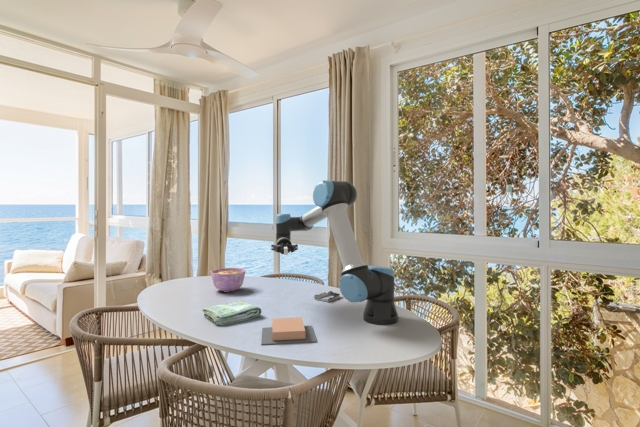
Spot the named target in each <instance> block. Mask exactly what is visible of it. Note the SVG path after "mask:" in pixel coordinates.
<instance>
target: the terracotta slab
mask: <svg viewBox="0 0 640 427" xmlns="http://www.w3.org/2000/svg"><path fill="white" fill-rule="evenodd" d="M271 319H272V320H271V322H272V324H271V325H272V336H273V340H274V341H279V340H299V339H305V327H304V326H305V325H304V320H303V317H302V316H299V317H275V318H271Z"/></svg>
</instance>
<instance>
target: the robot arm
mask: <svg viewBox="0 0 640 427" xmlns="http://www.w3.org/2000/svg"><path fill="white" fill-rule="evenodd" d="M357 198H358V192H357V189H356V187H355V186H354V185H353V184H352V183H350V182H348V181H343V180H342V181H341V180H331V179H330V180H329V179H327V180H321V181H319V182H317V184H316V185H315V186H314V190H313V192H312V201H313V203H314V204H315V205H316V206H315V207H313V208H312V209H310V210H309V211H307V212H306V213H304V214H303V215H301V216H291V214H290V213H277V214H276V218H275V230H276V231H275V232H276V233H275V238H276V239H275V244H271V246H270V251H274V252H276V253H280V254H281V255H285V256H287V255H289V253H294V252H296V251H298V250H299V245H298V244H297V243H296V244H292V242H291V234H292V233H291V232H302V231H303V232H304V231H306V232H307V231H311V230H312V229H313V228H314V225H317V223H319V222H321V221H323V220H325V219H326V218H327V219H328V223H329V226H330V229H331V232H332V235H333V239H334V242H335V246H336V249H337V251H338V255H339V259H340V262H341V266H342V270H341V272H340V274H341V277H340V279H339V284H338V286H339V288H338V289H339V291H340V294H341V296H342V297H343V298H344V299H345V300H347V301H348V302H350V303H361V302H362V303H363V302H365V301H366V304H365V307H364V311H363V314H362V316H363V317H362V318H363V320H364V321H365V322H367V323H370V324H376V325H392V324H395V323H397V322H398V321H399V314H398V311H397V307H396V304H395V270H394V269H393V268H391V267H388V266H379V265H368V264H367V263H365V262H363V259H362V255H361V252H360V249H359V246H358V243H357V240H356V237H355V234H354V230H353V228H352V224H351V221H350V219H349V215H348V212H347V210H348V208H350V207H351V206H353V205H354V203H355V202H356V201H357Z"/></svg>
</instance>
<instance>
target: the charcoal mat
mask: <svg viewBox="0 0 640 427" xmlns="http://www.w3.org/2000/svg"><path fill="white" fill-rule="evenodd" d="M304 327H305V339H299V340H279V341H274V340H273V336H272V327H271V326H269V327H268V326H267V327H262V330H261V344H260V346H266V345H267V346H271V345H285V344H286V345H288V344H304V343H306V344H310V343H318V340H317V338H316V335H315V332H314V329H313V326H312V324H311V325H304Z"/></svg>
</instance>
